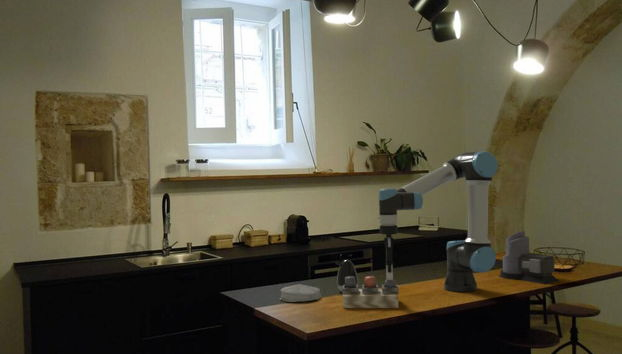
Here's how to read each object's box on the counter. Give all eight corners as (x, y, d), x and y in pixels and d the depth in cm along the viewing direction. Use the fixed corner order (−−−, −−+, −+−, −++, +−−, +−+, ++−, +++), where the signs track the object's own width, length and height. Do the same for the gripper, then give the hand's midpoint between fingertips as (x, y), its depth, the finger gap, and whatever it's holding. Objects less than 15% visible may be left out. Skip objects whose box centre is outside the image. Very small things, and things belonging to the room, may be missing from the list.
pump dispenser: (335, 289, 266) (334, 258, 266) (356, 288, 267) (355, 257, 267) (338, 294, 256) (337, 261, 256) (360, 293, 257) (359, 260, 257)
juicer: (491, 276, 290) (490, 230, 290) (511, 272, 298) (510, 228, 298) (542, 285, 265) (541, 234, 265) (562, 280, 273) (560, 232, 273)
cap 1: (355, 285, 238) (355, 276, 238) (355, 287, 233) (355, 278, 233) (345, 285, 238) (345, 276, 238) (344, 287, 234) (344, 278, 234)
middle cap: (375, 285, 237) (375, 276, 237) (375, 287, 233) (375, 278, 233) (365, 285, 237) (364, 276, 237) (364, 287, 233) (364, 278, 233)
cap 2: (395, 288, 236) (394, 279, 236) (395, 290, 232) (395, 281, 232) (384, 288, 236) (384, 279, 236) (385, 290, 232) (384, 281, 232)
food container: (280, 294, 261) (280, 280, 261) (322, 293, 260) (321, 278, 260) (276, 305, 241) (276, 289, 241) (322, 303, 240) (321, 287, 240)
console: (397, 300, 241) (397, 283, 241) (399, 307, 227) (398, 289, 227) (343, 300, 243) (343, 283, 243) (342, 307, 229) (341, 290, 229)
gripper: (379, 223, 241) (380, 276, 241) (379, 226, 228) (381, 282, 228) (396, 223, 240) (397, 276, 240) (398, 225, 227) (399, 282, 227)
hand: (389, 279), depth 234 cm, fingers closed
